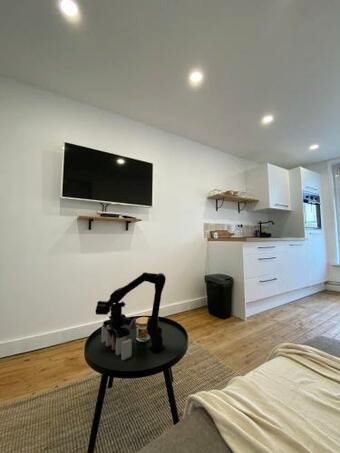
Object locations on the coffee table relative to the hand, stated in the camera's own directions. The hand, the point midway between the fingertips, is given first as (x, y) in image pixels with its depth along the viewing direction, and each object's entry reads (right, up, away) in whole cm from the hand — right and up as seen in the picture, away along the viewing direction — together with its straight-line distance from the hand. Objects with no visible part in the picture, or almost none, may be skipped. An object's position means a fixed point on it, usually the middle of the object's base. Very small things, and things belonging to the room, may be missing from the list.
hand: (115, 344), depth 109 cm
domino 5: (+8, -2, -8) cm, 11 cm away
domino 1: (-8, -3, +8) cm, 11 cm away
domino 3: (0, -2, 0) cm, 2 cm away
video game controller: (+8, -4, +24) cm, 26 cm away
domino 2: (-4, -2, +4) cm, 6 cm away
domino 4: (+4, -2, -4) cm, 6 cm away
